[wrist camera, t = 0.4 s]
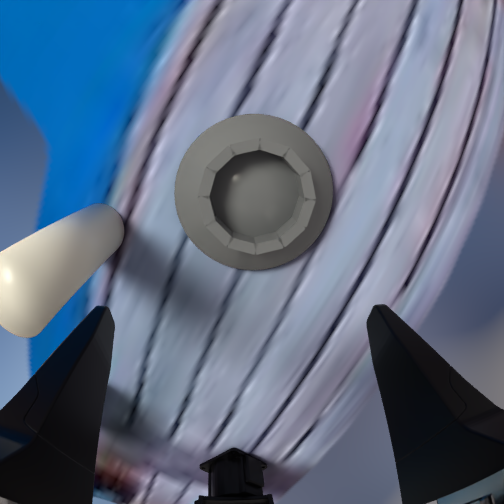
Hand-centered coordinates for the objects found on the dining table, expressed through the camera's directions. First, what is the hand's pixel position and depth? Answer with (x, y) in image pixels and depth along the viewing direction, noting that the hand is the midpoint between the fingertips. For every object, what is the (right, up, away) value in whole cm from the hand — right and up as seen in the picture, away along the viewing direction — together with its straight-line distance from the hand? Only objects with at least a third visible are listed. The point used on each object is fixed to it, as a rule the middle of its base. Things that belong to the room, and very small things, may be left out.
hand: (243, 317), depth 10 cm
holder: (0, +7, +14) cm, 16 cm away
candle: (-12, +4, +14) cm, 19 cm away
